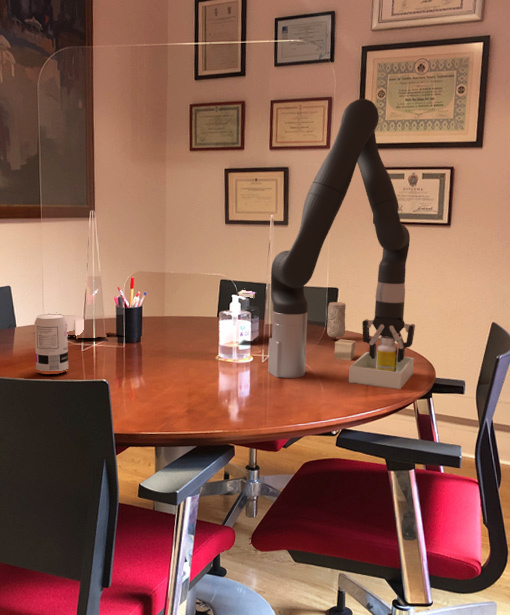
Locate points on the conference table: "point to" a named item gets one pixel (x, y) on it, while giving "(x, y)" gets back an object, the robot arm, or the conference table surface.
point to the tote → (380, 372)
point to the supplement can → (51, 342)
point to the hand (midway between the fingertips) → (386, 359)
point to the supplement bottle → (386, 354)
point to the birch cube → (345, 349)
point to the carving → (336, 319)
